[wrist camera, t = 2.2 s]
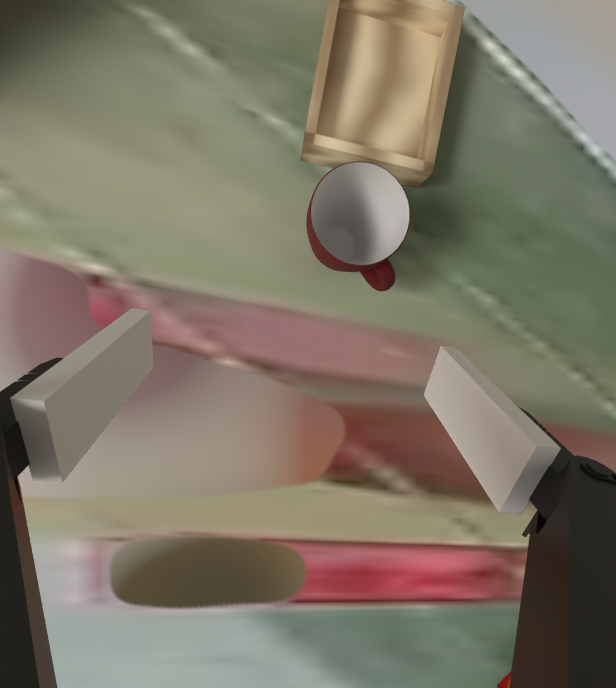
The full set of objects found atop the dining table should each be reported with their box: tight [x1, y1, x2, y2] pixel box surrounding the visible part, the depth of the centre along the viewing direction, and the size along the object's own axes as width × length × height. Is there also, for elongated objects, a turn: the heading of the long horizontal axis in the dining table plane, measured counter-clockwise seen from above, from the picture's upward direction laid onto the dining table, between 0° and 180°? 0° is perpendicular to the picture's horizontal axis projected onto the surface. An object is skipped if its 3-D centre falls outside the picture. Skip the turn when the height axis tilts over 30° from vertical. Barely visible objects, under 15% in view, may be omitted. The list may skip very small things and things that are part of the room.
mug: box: [307, 161, 410, 291], centre depth 31 cm, size 11×8×10 cm
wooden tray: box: [301, 0, 465, 188], centre depth 33 cm, size 13×16×4 cm
